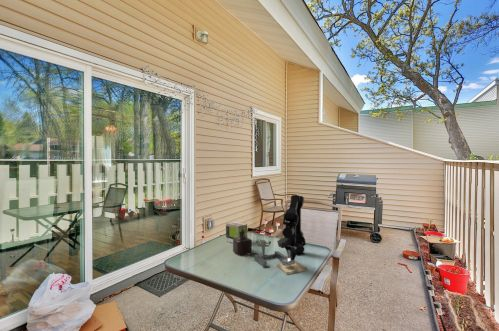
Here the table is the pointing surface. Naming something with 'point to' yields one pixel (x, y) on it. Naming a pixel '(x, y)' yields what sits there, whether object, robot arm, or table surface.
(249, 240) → the potted plant
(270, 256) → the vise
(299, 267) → the board
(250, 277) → the table surface
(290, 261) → the brushed metal step block
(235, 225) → the tea box
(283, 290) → the table surface
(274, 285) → the table surface
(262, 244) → the mechanical component
